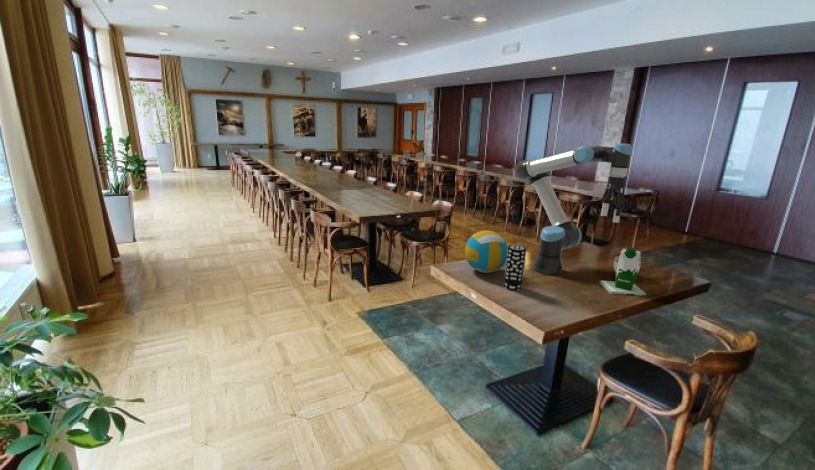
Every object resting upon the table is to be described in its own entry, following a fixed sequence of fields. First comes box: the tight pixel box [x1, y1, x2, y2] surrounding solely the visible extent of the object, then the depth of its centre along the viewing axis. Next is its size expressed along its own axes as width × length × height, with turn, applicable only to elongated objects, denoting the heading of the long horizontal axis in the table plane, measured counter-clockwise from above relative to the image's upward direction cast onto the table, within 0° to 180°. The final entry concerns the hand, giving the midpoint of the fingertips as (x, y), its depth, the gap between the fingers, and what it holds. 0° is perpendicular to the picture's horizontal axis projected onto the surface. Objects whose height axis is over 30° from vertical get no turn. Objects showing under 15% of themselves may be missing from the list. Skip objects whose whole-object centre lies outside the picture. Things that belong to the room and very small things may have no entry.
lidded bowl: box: [613, 255, 642, 273], centre depth 211 cm, size 13×13×11 cm
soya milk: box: [614, 247, 641, 291], centre depth 192 cm, size 9×9×20 cm
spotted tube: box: [503, 244, 527, 292], centre depth 189 cm, size 8×8×20 cm
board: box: [599, 280, 647, 296], centre depth 195 cm, size 16×13×1 cm
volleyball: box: [464, 230, 508, 274], centre depth 207 cm, size 22×22×22 cm
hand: (609, 219), depth 199 cm, fingers open, 13 cm apart
